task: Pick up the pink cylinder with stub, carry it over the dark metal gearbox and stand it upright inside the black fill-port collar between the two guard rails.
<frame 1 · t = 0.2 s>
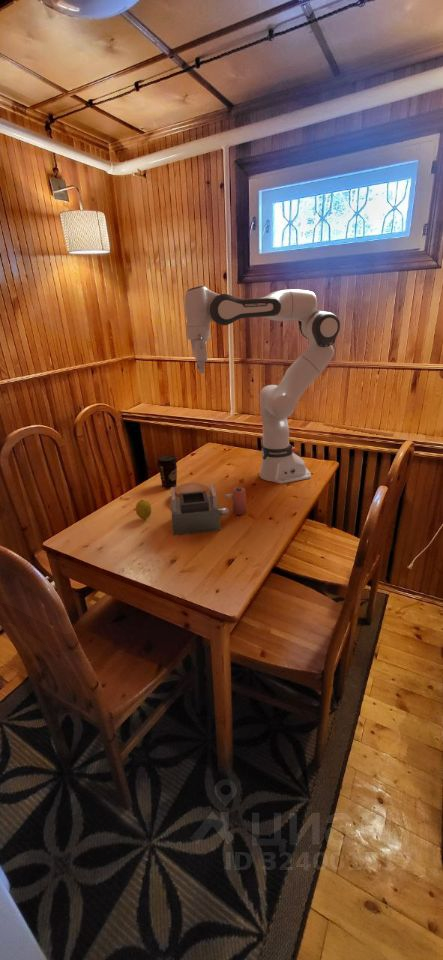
hand: (200, 371, 160), 47 cm above the table, tool pointing down, fingers open, 8 cm apart
coffee cup: (169, 486, 177), on the table
pie: (191, 499, 164), on the table
pink cylinder with stub: (239, 511, 153), on the table
lemon: (144, 519, 150), on the table
gearbox: (195, 524, 145), on the table
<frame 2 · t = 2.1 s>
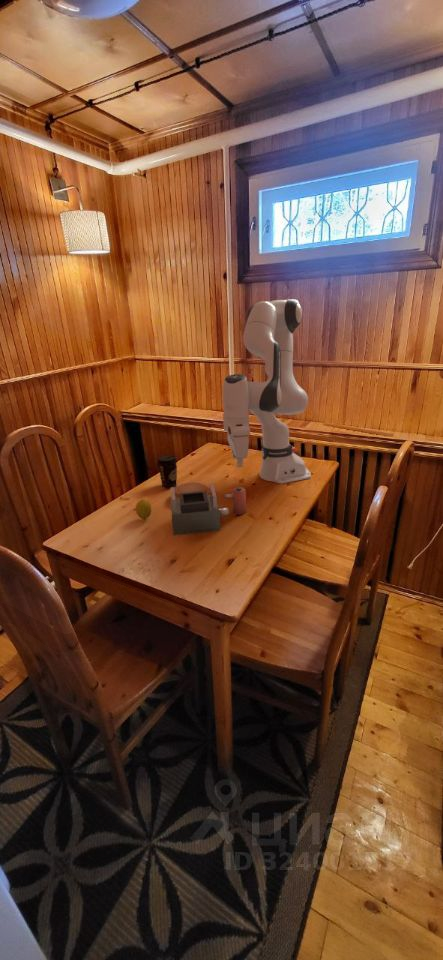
hand: (237, 462, 145), 20 cm above the table, tool pointing down, fingers open, 8 cm apart
nothing on the table moved.
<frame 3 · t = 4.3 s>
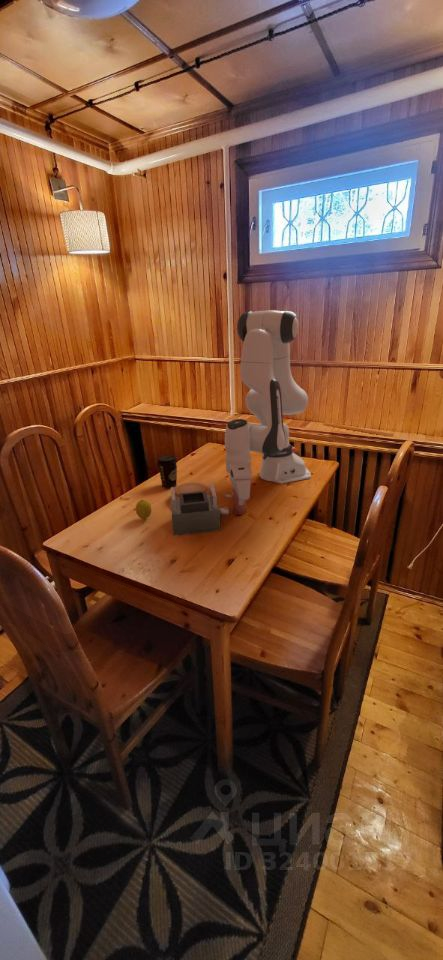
hand: (239, 500, 151), 5 cm above the table, tool pointing down, fingers closed on pink cylinder with stub, 5 cm apart
pink cylinder with stub: (239, 511, 153), on the table, touching gripper
everything else where it was.
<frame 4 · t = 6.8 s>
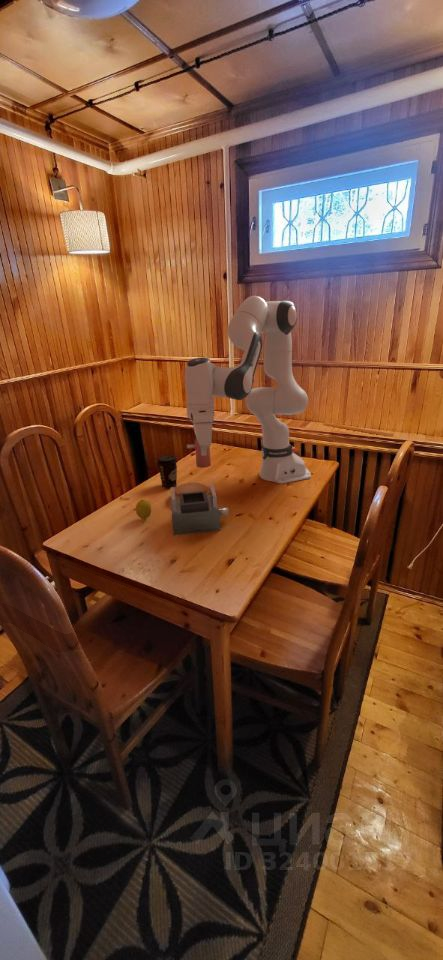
hand: (202, 452, 136), 26 cm above the table, tool pointing down, fingers closed on pink cylinder with stub, 5 cm apart
pink cylinder with stub: (203, 465, 138), point 22 cm above the table, touching gripper
everything else where it was.
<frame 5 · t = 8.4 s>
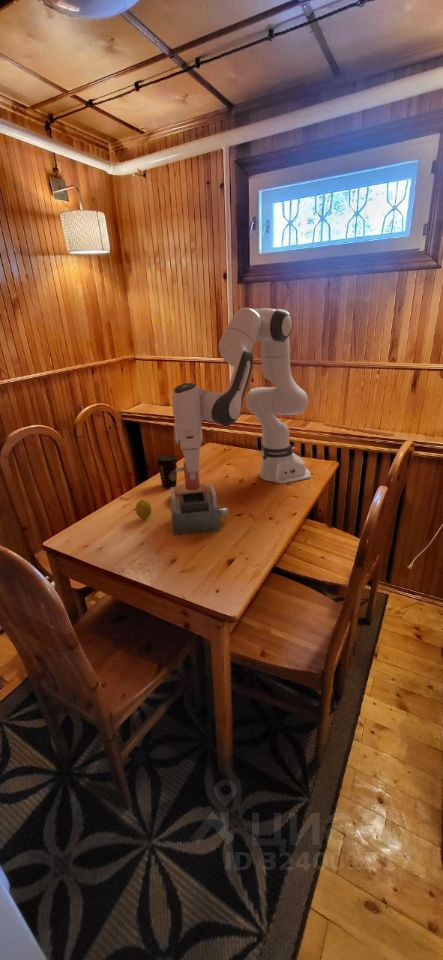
hand: (191, 475, 138), 19 cm above the table, tool pointing down, fingers closed on pink cylinder with stub, 5 cm apart
pink cylinder with stub: (192, 487, 139), point 14 cm above the table, touching gripper
everything else where it was.
when the fingers open (14 cm above the table, at t = 9.7 s): pink cylinder with stub drops 1 cm, resting on gearbox.
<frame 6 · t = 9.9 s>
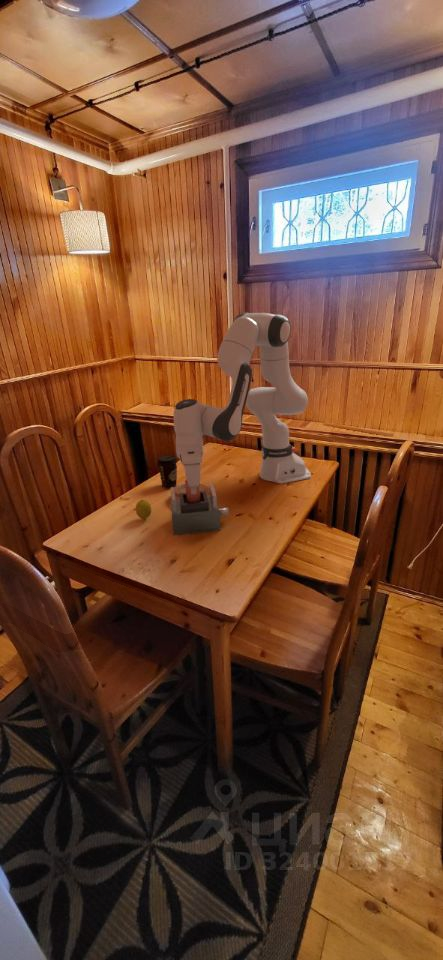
hand: (192, 488, 140), 14 cm above the table, tool pointing down, fingers open, 6 cm apart
pink cylinder with stub: (194, 504, 142), point 8 cm above the table, touching gearbox
everything else where it was.
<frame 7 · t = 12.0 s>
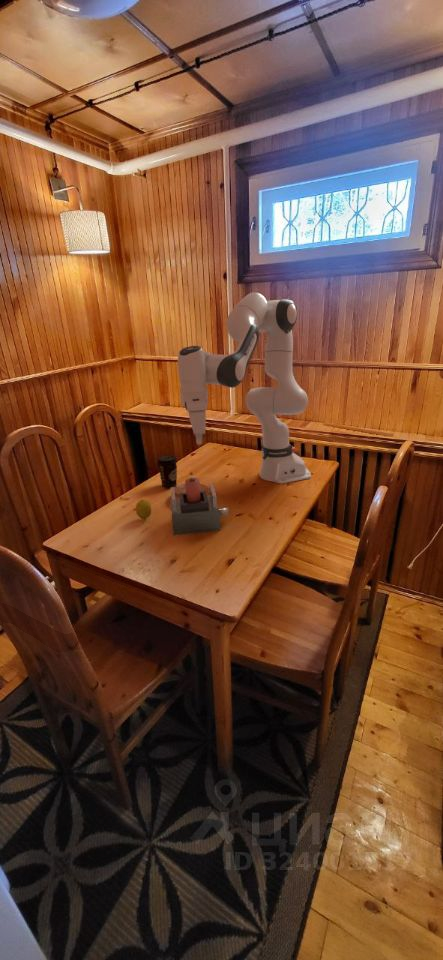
hand: (197, 439, 139), 30 cm above the table, tool pointing down, fingers open, 8 cm apart
nothing on the table moved.
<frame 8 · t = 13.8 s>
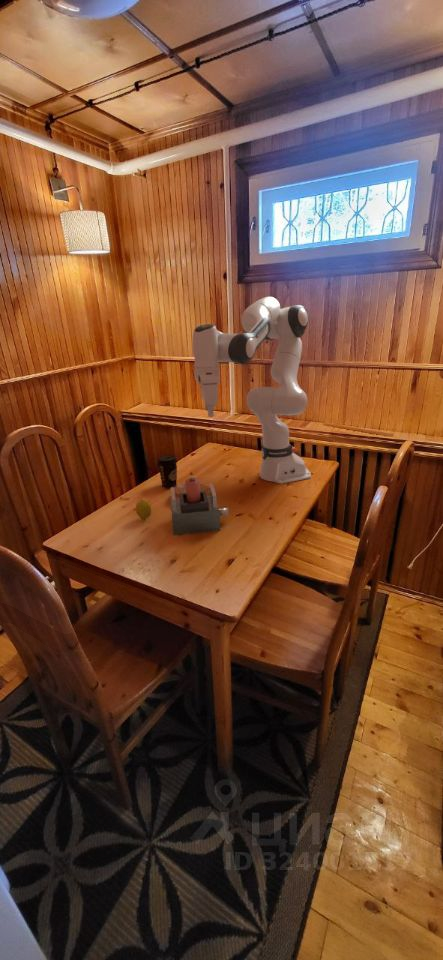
hand: (209, 413, 149), 35 cm above the table, tool pointing down, fingers open, 8 cm apart
nothing on the table moved.
at the end: pink cylinder with stub 0.1 cm off-centre on the gearbox, point 8.0 cm above the gearbox's base; pink cylinder with stub tilted 0°; the gripper is holding nothing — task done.
